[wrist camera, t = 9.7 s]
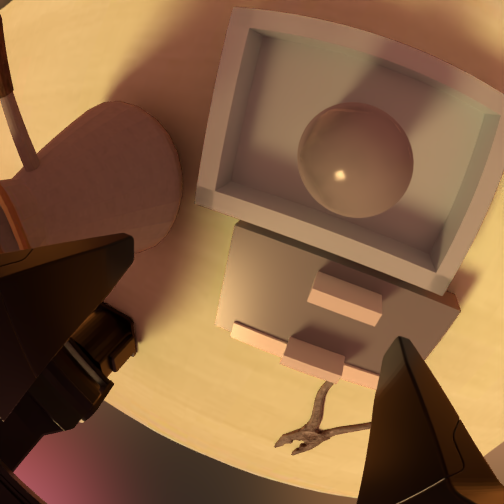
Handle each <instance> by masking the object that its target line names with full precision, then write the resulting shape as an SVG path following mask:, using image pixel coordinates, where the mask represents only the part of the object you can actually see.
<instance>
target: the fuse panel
mask: <svg viewBox="0 0 504 504" xmlns="http://www.w3.org/2000/svg"><path fill="white" fill-rule="evenodd" d="M460 312H461V310H460V307H459V304H458V301H457V298H456V296H455V294H453V293H450V292H448V291H445V293H444V294H443V296H441V295H438V294H436V293H433V292H431V291H428V290H426V289H423V288H421V287H418V286H416V285H413V284H411V283H408V282H406V281H403V280H401V279H398V278H396V277H393V276H391V275H388V274H386V273H383V272H380V271H378V270H375V269H373V268H370V267H367V266H365V265H362V264H360V263H357V262H354V261H352V260H349V259H347V258H344V257H341V256H339V255H336V254H333V253H331V252H328V251H325V250H323V249H320V248H317V247H315V246H312V245H309V244H307V243H304V242H301V241H298V240H296V239H293V238H290V237H287V236H285V235H282V234H279V233H276V232H274V231H271V230H268V229H265V228H263V227H260V226H257V225H254V224H251V223H248V222H246V221H243V220H240V221H239V222H238V223H236V224H235V226H234V231H233V236H232V241H231V246H230V250H229V255H228V260H227V265H226V270H225V275H224V280H223V285H222V290H221V295H220V300H219V305H218V311H217V316H216V321H215V326H218V327H220V328H222V329H225V330H227V331H229V332H231V336H230V337H232V338H234V339H237V340H239V341H242V342H244V343H246V344H249V345H251V346H254V347H256V348H259V349H261V350H264V351H266V352H269V353H271V354H274V355H276V356H279V357H282V358H281V361H280V363H279V364H282V365H284V366H287V367H289V368H292V369H295V370H298V371H300V372H303V373H306V374H309V375H311V376H314V377H317V378H320V379H323V380H326V381H329V382H332V383H335V384H337V382H338V381H339V379H343V380H346V381H349V382H352V383H355V384H358V385H361V386H365V387H368V388H371V389H374V390H376V389H377V385H378V380H379V375H380V370H381V365H382V360H383V357H384V354H385V353H386V351H387V350H388V348H389V347H390V345H391V344H392V342H393V341H394V339H395V338H396V337H397V336H402V337H405V338H408V339H410V340H411V342H412V343H413V345H414V346H415V348H416V349H417V351H418V352H419V354H420V355H421V357H422V358H423V360H425V359H426V358H427V356H428V355H429V354H430V353H431V351H432V350H433V349H434V348H435V346H436V345H437V344H438V342H439V341H440V340H441V338H442V337H443V336H444V334H445V333H446V332H447V330H448V329H449V328H450V326H451V325H452V323H453V322H454V320H455V319H456V318H457V316H458V315H459V313H460Z"/></svg>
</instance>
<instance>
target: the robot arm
mask: <svg viewBox="0 0 504 504" xmlns="http://www.w3.org/2000/svg"><path fill="white" fill-rule="evenodd" d="M133 260H134V238H133V236H131V235H128V234H126V233H117V234H111V235H105V236H99V237H92V238H86V239H81V240H75V241H69V242H63V243H58V244H52V245H46V246H41V247H36V248H34V249H33V248H30V249H25V250H19V251H14V252H7V253H0V504H47V503H46V502H45V501H43V500H42V499H41V498H40V497H39V496H37V495H36V494H35V493H34V492H33V491H32V490H31V489H30V488H29V487H28V486H26V485H25V484H24V483H23V482H22V481H21V480H20V479H19V478H18V477H17V476H16V475H15V474H14V473H13V472H14V470H15V469H16V468H17V467H18V465H19V464H20V463H21V462H22V461H23V459H24V458H25V457H26V456H27V455H28V453H29V452H30V451H31V450H32V449H33V447H34V446H35V445H36V444H37V443H38V441H39V440H40V439H41V438H42V437H43V436H44V435H48V434H53V433H57V432H61V431H66V430H69V429H73V428H74V427H75V426H76V424H78V422H80V423H82V422H84V421H86V420H87V419H88V418H90V417H91V416H92V415H93V414H94V413H95V411H96V410H97V409H98V408H99V406H100V404H101V403H102V402H103V400H104V399H105V397H106V396H107V394H108V393H109V391H110V390H111V388H112V387H113V385H114V383H113V382H112V381H111V380H109V379H108V378H107V377H108V376H109V374H110V373H111V372H112V371H113V372H117V371H118V370H119V369H120V368H121V367H122V365H123V364H124V363H125V362H126V361H127V360H128V359H129V357H130V356H132V357H134V356H135V355H136V349H135V338H134V326H133V321H132V319H131V318H129V317H127V316H125V315H124V314H122V313H120V312H118V311H117V310H115V309H113V308H111V307H110V306H108V305H106V304H105V303H103V302H102V301H103V300H104V299H105V298H106V296H107V295H108V294H109V293H110V292H111V290H112V289H113V288H114V286H115V285H116V284H117V282H118V281H119V280H120V278H121V277H122V276H123V275H124V273H125V272H126V271H127V269H128V268H129V267H130V265H131V264H132V262H133ZM357 504H504V486H503V485H502V484H501V483H500V482H499V480H498V479H497V478H496V476H495V474H494V473H493V471H492V469H491V468H490V466H489V465H488V463H487V462H486V460H485V459H484V457H483V455H482V454H481V452H480V451H479V449H478V448H477V446H476V445H475V443H474V441H473V440H472V438H471V436H470V435H469V433H468V431H467V430H466V428H465V426H464V424H463V423H462V421H461V420H459V416H458V414H457V413H456V411H455V409H454V407H453V406H452V404H451V402H450V401H449V399H448V398H447V396H446V394H445V393H444V391H443V389H442V388H441V386H440V385H439V383H438V381H437V380H436V378H435V377H434V375H433V374H432V372H431V370H430V369H429V367H428V366H427V364H426V363H425V361H424V360H423V358H422V357H421V355H420V354H419V352H418V351H417V349H416V348H415V346H414V345H413V343H412V342H411V340H410V339H408V338H405V337H402V336H397V337H396V338H395V339H394V341H393V342H392V344H391V345H390V347H389V348H388V350H387V351H386V353H385V354H384V357H383V360H382V365H381V370H380V375H379V380H378V385H377V389H376V394H375V399H374V405H373V414H372V421H371V429H370V436H369V443H368V449H367V455H366V461H365V466H364V471H363V477H362V481H361V486H360V491H359V495H358V500H357Z"/></svg>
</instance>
